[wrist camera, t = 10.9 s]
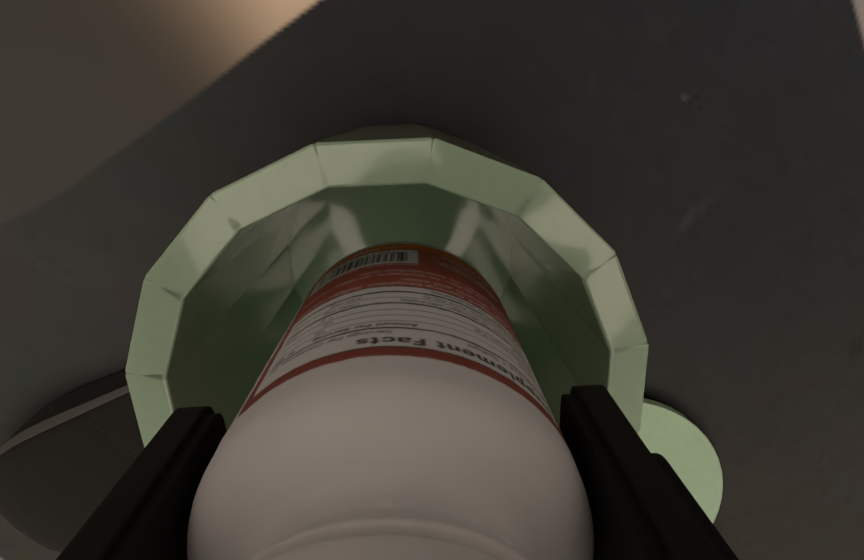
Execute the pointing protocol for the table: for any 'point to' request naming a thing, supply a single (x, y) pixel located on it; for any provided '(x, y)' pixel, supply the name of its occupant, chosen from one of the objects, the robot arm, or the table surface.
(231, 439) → the pill bottle
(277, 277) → the pot
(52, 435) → the computer mouse
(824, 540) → the table surface
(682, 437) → the lid
